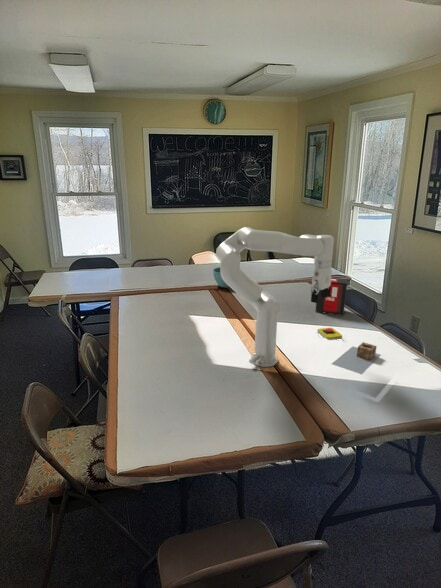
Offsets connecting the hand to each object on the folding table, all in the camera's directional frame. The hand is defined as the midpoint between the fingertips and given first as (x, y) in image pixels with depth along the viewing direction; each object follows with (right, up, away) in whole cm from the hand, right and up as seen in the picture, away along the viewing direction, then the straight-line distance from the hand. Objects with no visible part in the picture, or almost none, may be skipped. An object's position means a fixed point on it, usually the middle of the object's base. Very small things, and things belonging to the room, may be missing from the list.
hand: (319, 299), depth 185 cm
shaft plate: (+18, -29, +3) cm, 34 cm away
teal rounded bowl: (-41, +8, +113) cm, 121 cm away
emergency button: (+13, -21, +30) cm, 38 cm away
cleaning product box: (+23, -8, +66) cm, 71 cm away
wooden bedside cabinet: (+23, -27, +6) cm, 36 cm away
